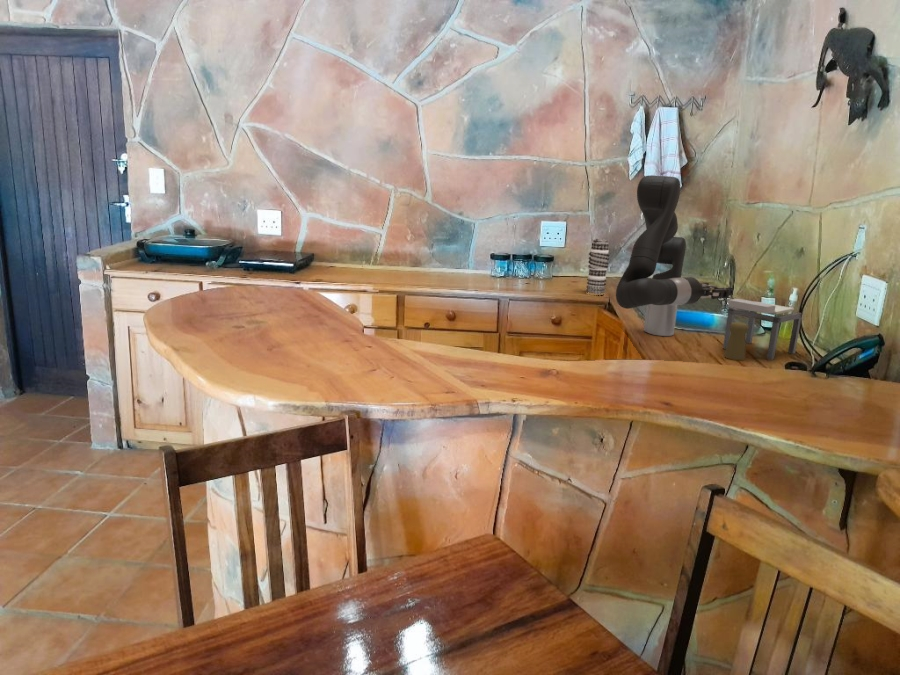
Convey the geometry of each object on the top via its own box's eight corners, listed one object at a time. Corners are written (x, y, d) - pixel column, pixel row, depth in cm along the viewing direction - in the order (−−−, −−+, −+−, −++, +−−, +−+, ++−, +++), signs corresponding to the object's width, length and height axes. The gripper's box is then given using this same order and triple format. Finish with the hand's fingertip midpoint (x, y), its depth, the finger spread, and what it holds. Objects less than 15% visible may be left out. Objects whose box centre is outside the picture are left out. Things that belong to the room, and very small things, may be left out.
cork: (728, 353, 201) (733, 319, 198) (748, 358, 197) (754, 322, 194) (720, 357, 197) (725, 321, 194) (740, 361, 193) (746, 325, 190)
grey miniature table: (722, 348, 207) (728, 308, 204) (747, 342, 217) (753, 304, 213) (771, 360, 195) (778, 318, 192) (795, 353, 205) (802, 313, 202)
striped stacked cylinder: (584, 295, 292) (589, 239, 286) (586, 292, 300) (591, 237, 294) (604, 297, 289) (610, 240, 283) (606, 293, 298) (611, 239, 292)
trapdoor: (727, 309, 200) (728, 299, 199) (756, 304, 211) (757, 295, 210) (765, 317, 191) (767, 307, 190) (793, 311, 202) (795, 301, 201)
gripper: (702, 281, 172) (742, 279, 179) (661, 273, 184) (701, 272, 191) (698, 309, 173) (738, 306, 181) (658, 299, 186) (698, 297, 193)
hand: (719, 288), depth 186 cm, fingers open, 8 cm apart
